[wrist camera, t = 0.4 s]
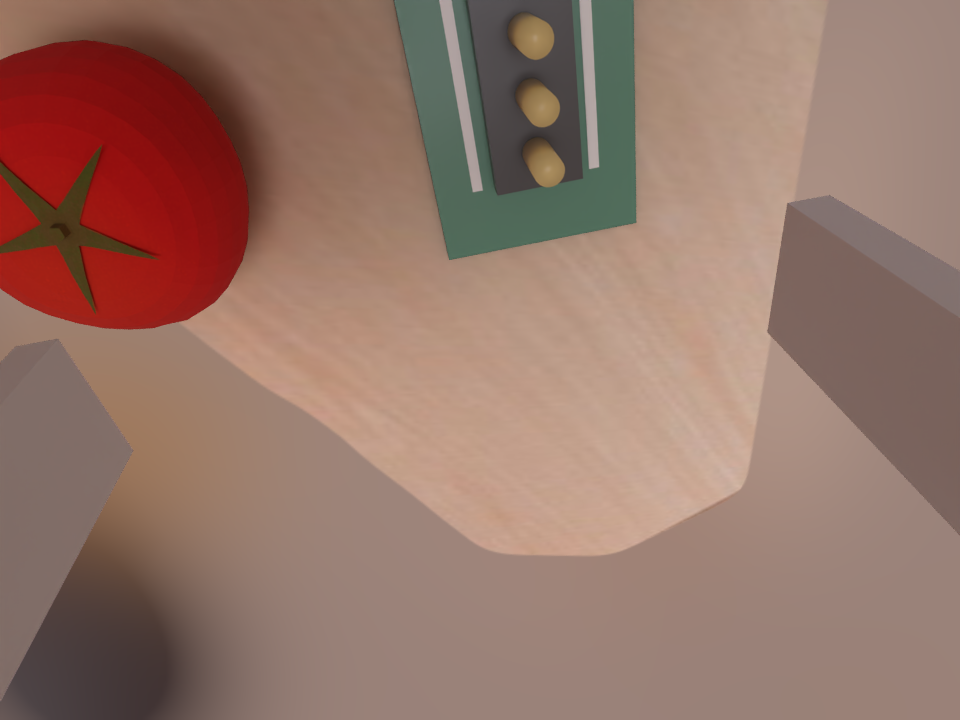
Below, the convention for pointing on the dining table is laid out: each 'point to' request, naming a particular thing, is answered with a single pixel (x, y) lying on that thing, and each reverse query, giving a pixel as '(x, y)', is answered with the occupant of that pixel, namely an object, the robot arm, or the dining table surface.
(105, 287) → the tomato
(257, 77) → the dining table surface
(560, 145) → the pcb
